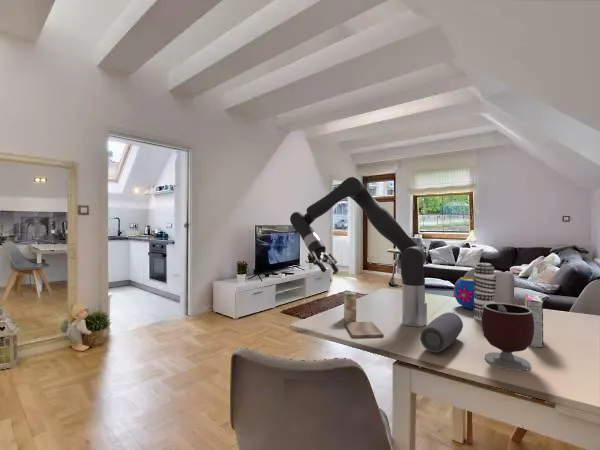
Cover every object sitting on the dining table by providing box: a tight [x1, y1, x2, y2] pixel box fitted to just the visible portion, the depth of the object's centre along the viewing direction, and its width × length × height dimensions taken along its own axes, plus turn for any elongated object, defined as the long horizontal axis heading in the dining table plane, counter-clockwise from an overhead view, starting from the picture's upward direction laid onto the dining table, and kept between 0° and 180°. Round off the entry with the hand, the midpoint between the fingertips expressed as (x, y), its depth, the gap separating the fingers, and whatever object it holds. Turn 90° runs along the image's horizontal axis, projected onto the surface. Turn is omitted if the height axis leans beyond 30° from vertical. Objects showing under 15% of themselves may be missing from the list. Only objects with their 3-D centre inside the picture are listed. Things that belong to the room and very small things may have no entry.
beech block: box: [343, 291, 357, 322], centre depth 148 cm, size 4×5×12 cm
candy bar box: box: [524, 293, 544, 349], centre depth 120 cm, size 11×5×16 cm, turn 148°
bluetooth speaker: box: [419, 312, 464, 353], centre depth 117 cm, size 23×9×10 cm, turn 141°
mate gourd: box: [481, 302, 534, 371], centre depth 102 cm, size 16×14×20 cm
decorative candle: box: [473, 262, 497, 321], centre depth 149 cm, size 9×9×25 cm
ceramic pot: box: [453, 276, 475, 310], centre depth 166 cm, size 18×18×15 cm
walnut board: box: [343, 321, 384, 339], centre depth 133 cm, size 12×16×1 cm
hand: (331, 271), depth 147 cm, fingers open, 8 cm apart
